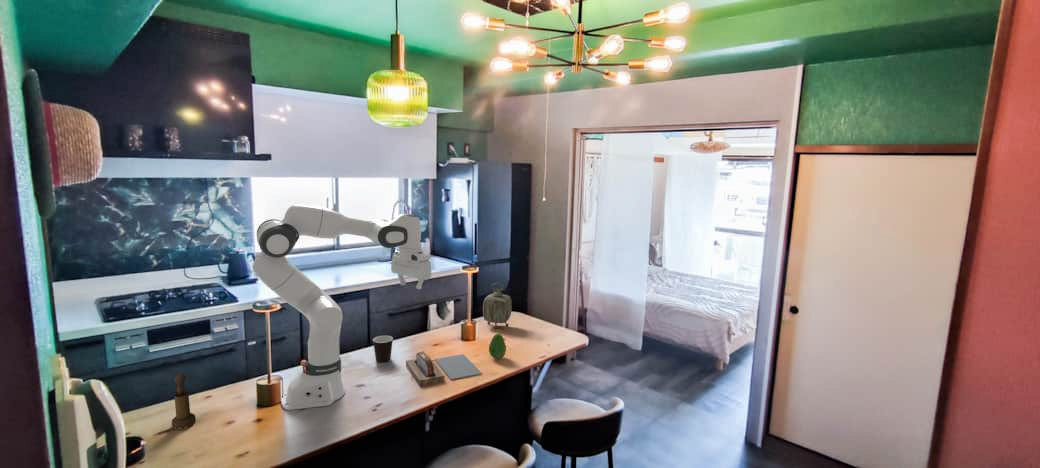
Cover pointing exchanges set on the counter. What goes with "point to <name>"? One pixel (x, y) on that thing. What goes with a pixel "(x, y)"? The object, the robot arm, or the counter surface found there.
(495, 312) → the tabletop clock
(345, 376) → the counter surface
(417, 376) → the frame
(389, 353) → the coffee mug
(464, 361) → the mat
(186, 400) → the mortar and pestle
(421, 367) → the tin
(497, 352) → the avocado
